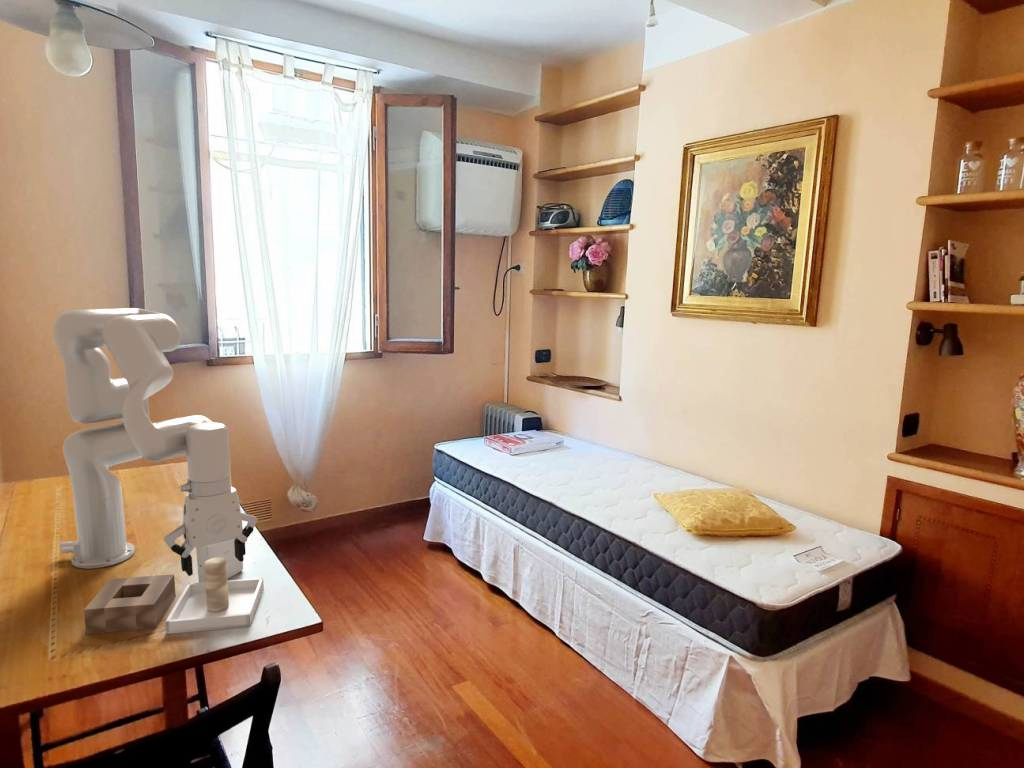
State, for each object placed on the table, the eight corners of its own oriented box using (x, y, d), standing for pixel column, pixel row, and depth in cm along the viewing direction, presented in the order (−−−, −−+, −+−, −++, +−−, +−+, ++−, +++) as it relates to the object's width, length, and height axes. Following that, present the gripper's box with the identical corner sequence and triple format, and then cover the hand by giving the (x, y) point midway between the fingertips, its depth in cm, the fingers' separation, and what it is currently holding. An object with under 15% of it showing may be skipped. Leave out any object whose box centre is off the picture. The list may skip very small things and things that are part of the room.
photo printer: (210, 590, 133) (206, 537, 131) (195, 586, 134) (191, 533, 132) (246, 570, 142) (243, 520, 140) (232, 566, 144) (229, 516, 142)
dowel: (210, 614, 123) (207, 568, 121) (204, 606, 126) (201, 561, 124) (231, 607, 125) (229, 562, 124) (225, 600, 128) (222, 555, 126)
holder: (86, 633, 116) (83, 609, 115) (112, 601, 128) (110, 578, 127) (156, 627, 119) (154, 604, 118) (175, 596, 130) (174, 574, 129)
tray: (166, 633, 117) (165, 621, 116) (189, 594, 131) (188, 583, 131) (250, 626, 120) (249, 614, 119) (263, 588, 134) (263, 577, 134)
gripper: (166, 500, 112) (172, 586, 116) (261, 481, 124) (264, 560, 127) (156, 489, 118) (161, 571, 121) (248, 472, 129) (251, 547, 133)
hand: (214, 565), depth 124 cm, fingers open, 9 cm apart
